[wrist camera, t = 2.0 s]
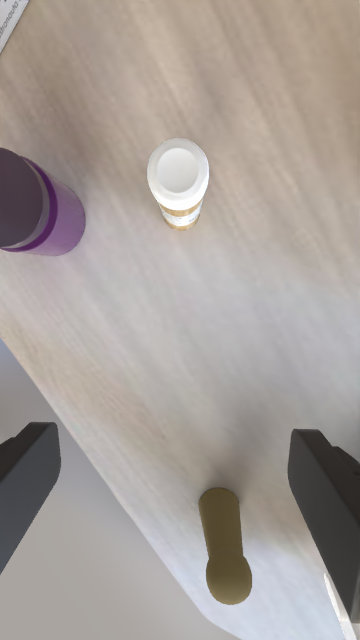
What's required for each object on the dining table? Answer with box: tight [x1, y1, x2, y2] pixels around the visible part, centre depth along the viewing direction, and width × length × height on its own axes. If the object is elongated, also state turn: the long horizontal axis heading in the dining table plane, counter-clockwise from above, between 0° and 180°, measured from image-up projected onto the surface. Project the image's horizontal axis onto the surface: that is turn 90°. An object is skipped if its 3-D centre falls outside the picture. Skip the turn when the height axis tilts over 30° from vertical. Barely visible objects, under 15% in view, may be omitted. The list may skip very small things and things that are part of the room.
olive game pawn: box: [199, 488, 252, 605], centre depth 34 cm, size 6×6×11 cm
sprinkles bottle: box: [147, 138, 209, 231], centre depth 25 cm, size 5×5×14 cm
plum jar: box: [0, 148, 85, 256], centre depth 28 cm, size 9×9×9 cm
